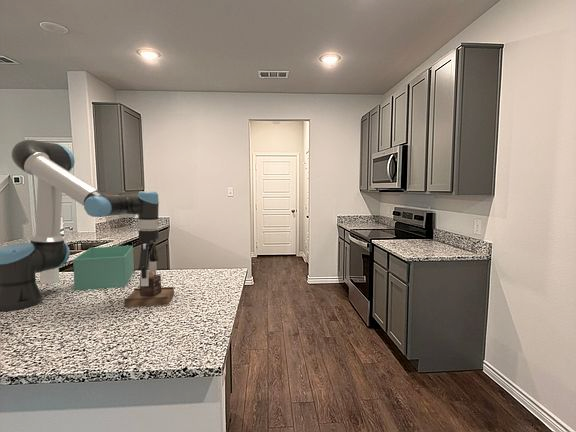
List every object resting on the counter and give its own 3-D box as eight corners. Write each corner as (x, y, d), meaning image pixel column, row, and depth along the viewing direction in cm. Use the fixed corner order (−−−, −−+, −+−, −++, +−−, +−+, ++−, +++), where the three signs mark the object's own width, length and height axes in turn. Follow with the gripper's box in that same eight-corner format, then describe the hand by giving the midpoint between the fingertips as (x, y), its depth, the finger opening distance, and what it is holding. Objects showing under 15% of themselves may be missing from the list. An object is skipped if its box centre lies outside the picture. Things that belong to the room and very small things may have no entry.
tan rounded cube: (144, 277, 132) (144, 272, 131) (146, 275, 134) (146, 271, 134) (152, 277, 132) (152, 272, 132) (154, 275, 135) (154, 270, 135)
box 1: (133, 271, 183) (132, 245, 182) (125, 287, 153) (124, 256, 152) (91, 274, 176) (90, 247, 175) (74, 291, 146) (72, 259, 145)
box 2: (153, 296, 131) (152, 278, 130) (139, 296, 132) (139, 278, 131) (161, 292, 136) (161, 275, 136) (148, 291, 138) (148, 274, 137)
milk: (54, 283, 158) (52, 238, 156) (39, 284, 156) (37, 238, 155) (59, 279, 164) (57, 236, 162) (45, 280, 162) (43, 236, 160)
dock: (124, 307, 126) (124, 299, 126) (134, 295, 140) (134, 288, 139) (167, 304, 129) (167, 297, 128) (173, 293, 142) (173, 286, 142)
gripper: (151, 233, 120) (151, 290, 122) (164, 226, 145) (164, 273, 147) (129, 233, 119) (129, 290, 121) (146, 226, 144) (146, 273, 145)
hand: (148, 281), depth 134 cm, fingers open, 13 cm apart
